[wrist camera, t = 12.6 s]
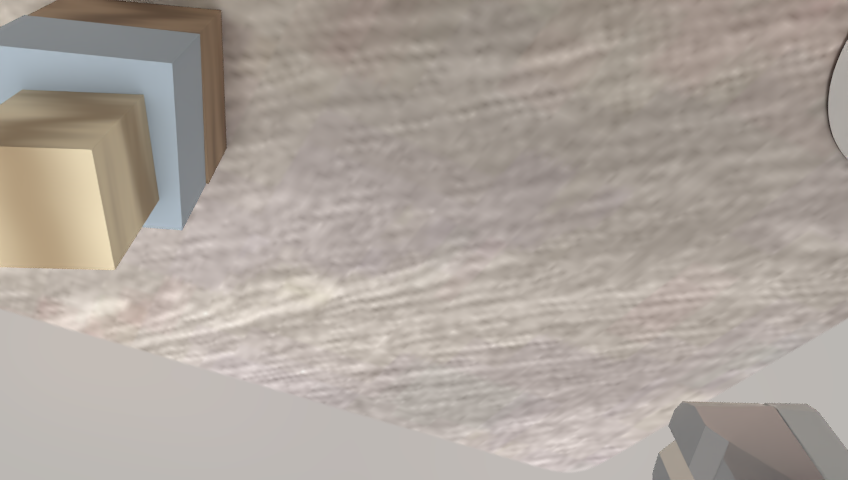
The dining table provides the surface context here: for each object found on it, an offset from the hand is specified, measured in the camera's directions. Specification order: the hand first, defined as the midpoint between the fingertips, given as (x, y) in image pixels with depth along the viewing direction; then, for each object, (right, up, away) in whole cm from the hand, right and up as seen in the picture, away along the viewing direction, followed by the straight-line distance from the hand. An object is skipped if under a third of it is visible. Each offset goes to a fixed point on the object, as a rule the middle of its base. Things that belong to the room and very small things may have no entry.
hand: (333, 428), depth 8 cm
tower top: (-14, +9, +27) cm, 32 cm away
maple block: (-13, +6, +23) cm, 27 cm away
